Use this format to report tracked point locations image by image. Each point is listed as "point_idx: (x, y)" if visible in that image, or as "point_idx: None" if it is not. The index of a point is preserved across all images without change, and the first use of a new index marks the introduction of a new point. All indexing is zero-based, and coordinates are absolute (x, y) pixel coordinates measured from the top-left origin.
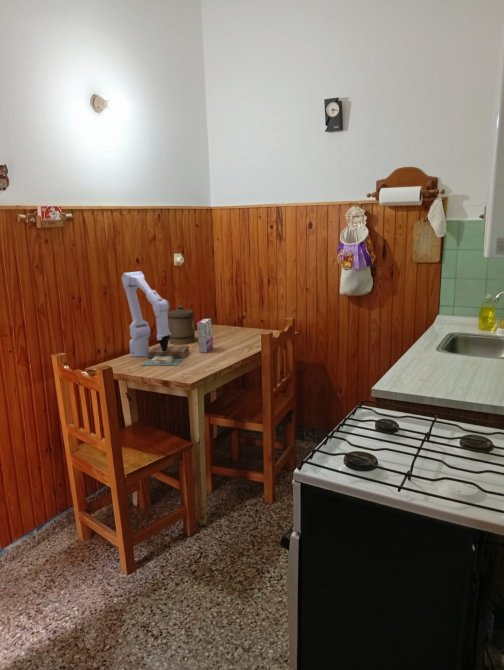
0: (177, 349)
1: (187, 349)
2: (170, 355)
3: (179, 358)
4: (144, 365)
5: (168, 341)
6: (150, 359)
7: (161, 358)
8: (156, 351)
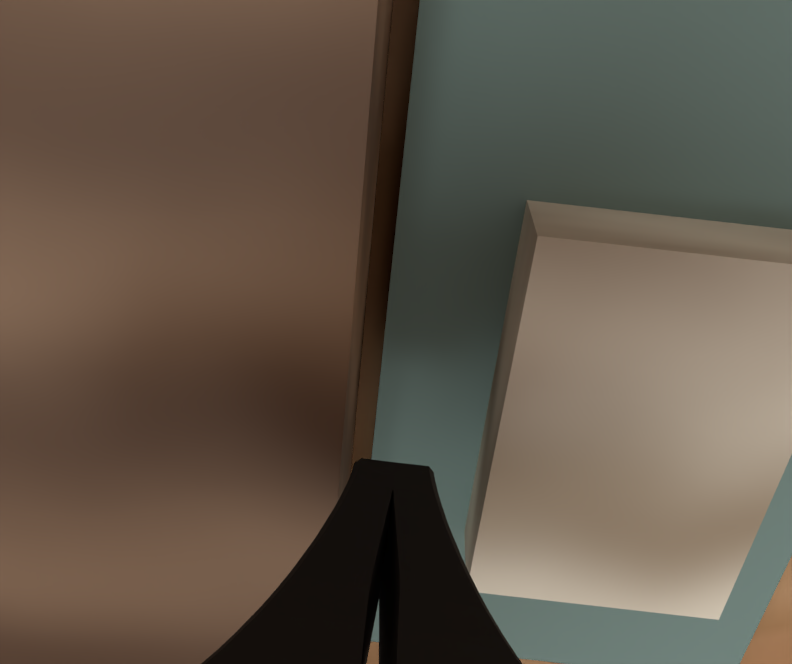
0: (70, 190)
1: None
2: (359, 310)
3: (385, 54)
4: (745, 637)
5: (254, 632)
6: None
7: (685, 463)
8: None
